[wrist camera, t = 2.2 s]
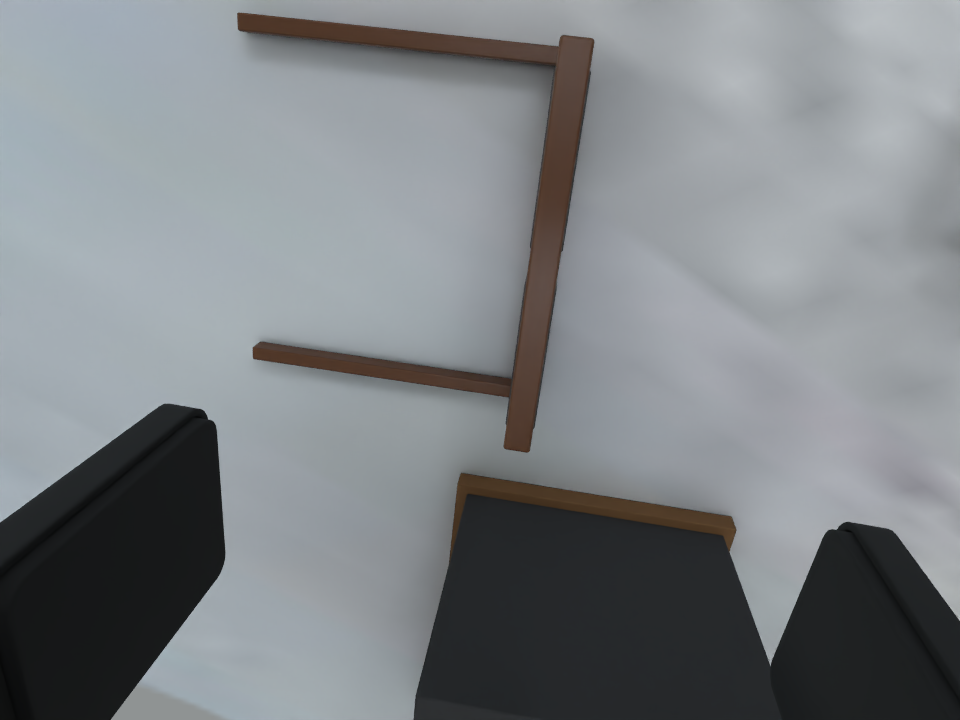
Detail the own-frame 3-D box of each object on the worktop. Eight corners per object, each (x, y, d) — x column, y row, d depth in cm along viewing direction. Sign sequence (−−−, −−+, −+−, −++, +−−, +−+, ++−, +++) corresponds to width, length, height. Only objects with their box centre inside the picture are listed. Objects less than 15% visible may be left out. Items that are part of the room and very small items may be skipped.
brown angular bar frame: (590, 51, 22) (596, 38, 18) (536, 394, 28) (530, 454, 23) (246, 14, 23) (165, -7, 19) (260, 352, 29) (200, 402, 24)
